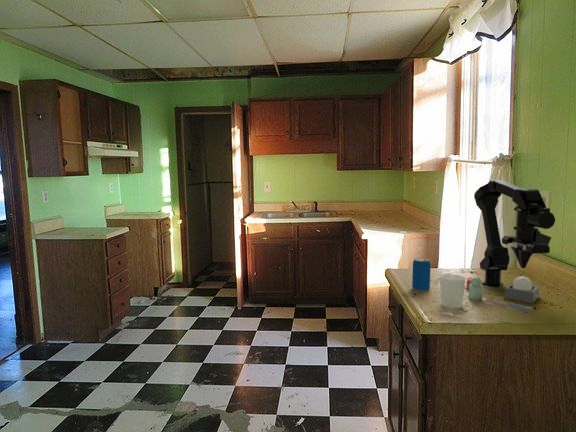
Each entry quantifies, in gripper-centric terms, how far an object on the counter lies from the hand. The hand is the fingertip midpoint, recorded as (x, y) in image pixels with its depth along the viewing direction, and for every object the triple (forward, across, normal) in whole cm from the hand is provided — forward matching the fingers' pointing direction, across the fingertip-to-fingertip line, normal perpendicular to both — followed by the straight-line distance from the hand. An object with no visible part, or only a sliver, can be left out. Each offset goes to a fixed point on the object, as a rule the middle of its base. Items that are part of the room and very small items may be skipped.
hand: (523, 267), depth 148 cm
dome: (+9, 0, 0) cm, 9 cm away
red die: (+11, +12, +12) cm, 20 cm away
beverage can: (+12, +13, +32) cm, 36 cm away
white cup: (+11, -5, +28) cm, 31 cm away
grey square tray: (+11, 0, 0) cm, 11 cm away
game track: (+11, -6, +12) cm, 18 cm away
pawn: (+11, 0, +17) cm, 20 cm away
